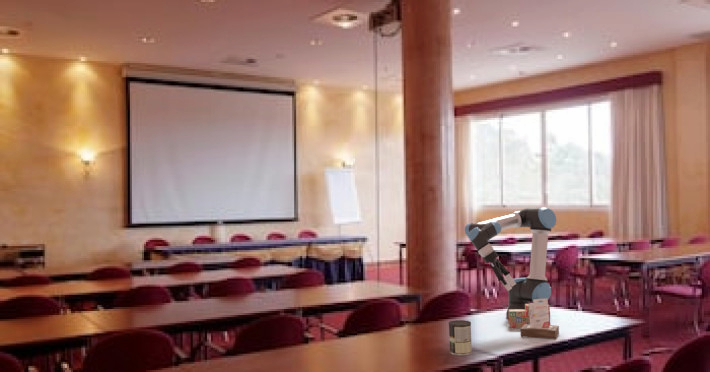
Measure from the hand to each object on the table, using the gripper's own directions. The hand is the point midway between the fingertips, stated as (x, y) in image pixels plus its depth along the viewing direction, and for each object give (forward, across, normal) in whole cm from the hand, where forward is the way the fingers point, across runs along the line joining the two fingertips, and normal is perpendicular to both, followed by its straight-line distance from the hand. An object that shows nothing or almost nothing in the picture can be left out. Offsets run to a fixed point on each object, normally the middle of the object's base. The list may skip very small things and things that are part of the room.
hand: (512, 287), depth 334 cm
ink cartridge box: (+24, +5, +1) cm, 24 cm away
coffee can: (+10, +51, -26) cm, 58 cm away
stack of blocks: (+24, -14, -8) cm, 29 cm away
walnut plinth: (+27, +5, -1) cm, 27 cm away
